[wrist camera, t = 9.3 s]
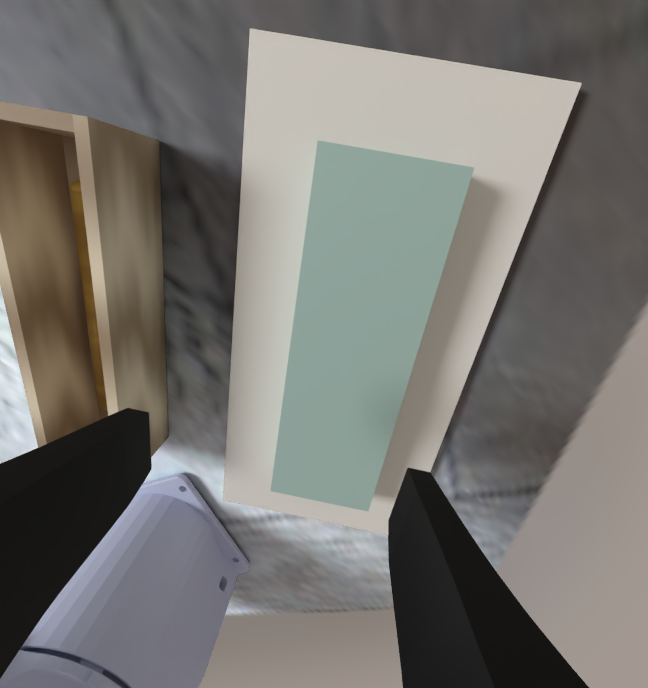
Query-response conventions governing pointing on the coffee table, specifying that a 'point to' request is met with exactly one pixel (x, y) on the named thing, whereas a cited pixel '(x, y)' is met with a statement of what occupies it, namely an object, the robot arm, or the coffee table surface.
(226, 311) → the coffee table surface
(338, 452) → the lid
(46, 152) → the pencil box
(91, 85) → the coffee table surface
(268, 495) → the mat
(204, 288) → the coffee table surface
